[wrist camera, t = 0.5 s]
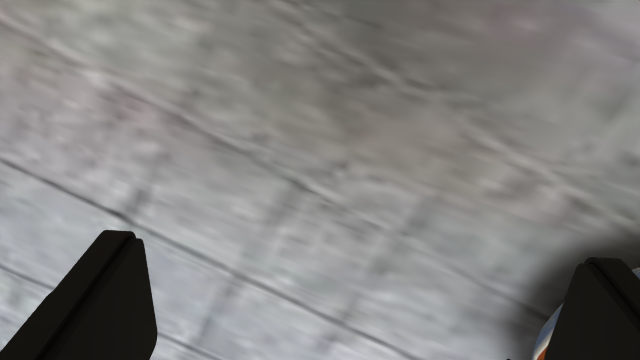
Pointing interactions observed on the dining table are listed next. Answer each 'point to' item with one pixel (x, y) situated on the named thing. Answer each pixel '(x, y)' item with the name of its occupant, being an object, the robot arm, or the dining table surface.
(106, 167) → the dining table surface
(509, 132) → the dining table surface
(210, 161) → the dining table surface
